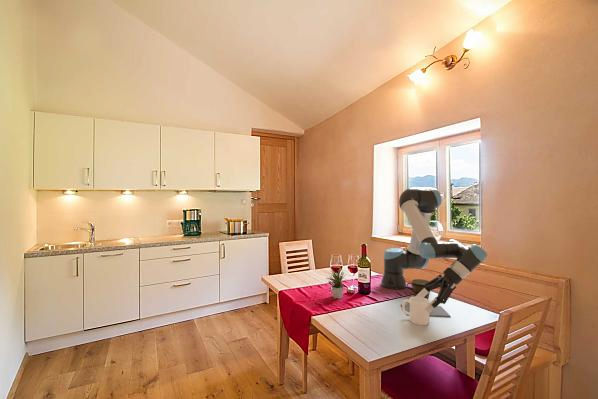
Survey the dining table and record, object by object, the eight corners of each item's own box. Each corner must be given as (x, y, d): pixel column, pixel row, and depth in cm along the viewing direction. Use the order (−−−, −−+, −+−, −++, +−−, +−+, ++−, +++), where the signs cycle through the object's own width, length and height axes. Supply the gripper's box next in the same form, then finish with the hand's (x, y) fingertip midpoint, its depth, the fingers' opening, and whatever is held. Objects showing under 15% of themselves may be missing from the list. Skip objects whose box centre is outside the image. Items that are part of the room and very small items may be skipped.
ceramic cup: (426, 296, 161) (426, 279, 161) (434, 303, 151) (434, 284, 151) (403, 296, 162) (403, 279, 162) (410, 303, 152) (410, 284, 152)
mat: (440, 307, 146) (440, 305, 146) (450, 317, 134) (450, 315, 134) (400, 305, 149) (400, 304, 148) (406, 315, 137) (406, 313, 137)
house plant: (327, 291, 171) (327, 264, 171) (350, 293, 167) (350, 265, 167) (322, 299, 157) (322, 270, 157) (347, 301, 154) (347, 272, 153)
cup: (425, 327, 124) (426, 304, 124) (398, 319, 132) (399, 298, 132) (431, 321, 130) (431, 299, 130) (405, 313, 138) (405, 293, 138)
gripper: (476, 287, 115) (437, 323, 117) (450, 271, 140) (418, 300, 142) (462, 274, 116) (424, 309, 117) (439, 260, 140) (407, 289, 142)
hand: (421, 304), depth 130 cm, fingers open, 13 cm apart
